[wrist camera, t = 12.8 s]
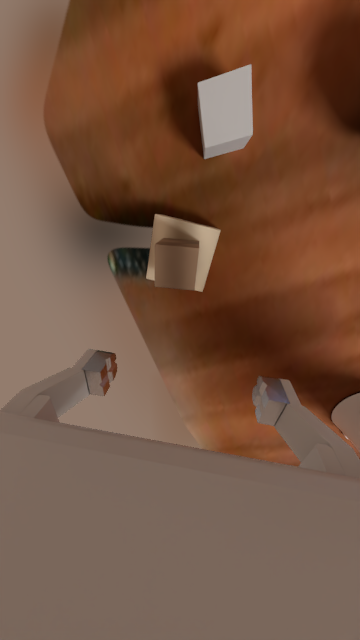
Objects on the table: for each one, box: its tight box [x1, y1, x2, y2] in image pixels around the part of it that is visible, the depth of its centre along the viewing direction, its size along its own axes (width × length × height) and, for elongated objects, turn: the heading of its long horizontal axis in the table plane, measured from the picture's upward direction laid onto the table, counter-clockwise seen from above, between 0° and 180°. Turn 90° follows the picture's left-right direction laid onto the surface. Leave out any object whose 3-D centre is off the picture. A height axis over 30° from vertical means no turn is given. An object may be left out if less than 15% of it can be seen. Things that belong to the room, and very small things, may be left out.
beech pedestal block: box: [146, 214, 221, 292], centre depth 30 cm, size 9×9×4 cm
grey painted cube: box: [198, 64, 253, 159], centre depth 22 cm, size 5×5×5 cm
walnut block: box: [155, 238, 199, 290], centre depth 26 cm, size 5×5×6 cm
